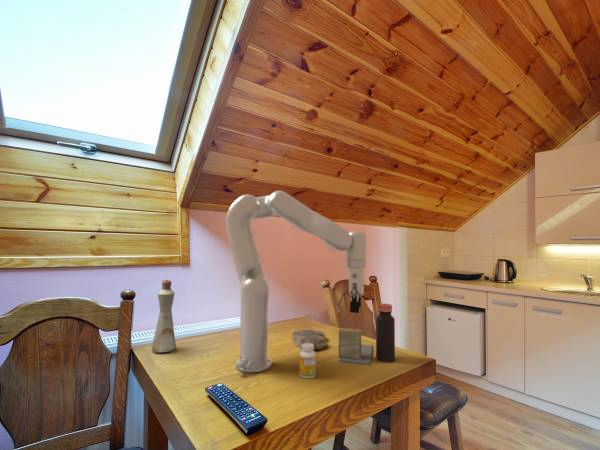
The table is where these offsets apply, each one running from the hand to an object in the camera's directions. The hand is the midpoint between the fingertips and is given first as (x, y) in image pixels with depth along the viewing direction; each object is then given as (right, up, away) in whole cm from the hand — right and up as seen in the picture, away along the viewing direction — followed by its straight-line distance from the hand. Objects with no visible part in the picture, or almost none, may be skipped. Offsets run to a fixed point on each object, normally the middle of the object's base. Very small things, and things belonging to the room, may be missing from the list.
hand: (355, 309), depth 117 cm
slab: (-2, -18, 0) cm, 18 cm away
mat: (+1, -18, +4) cm, 19 cm away
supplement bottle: (-18, -18, -15) cm, 30 cm away
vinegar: (+11, -18, -1) cm, 22 cm away
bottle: (-75, -18, +6) cm, 77 cm away
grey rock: (-17, -19, +16) cm, 30 cm away
